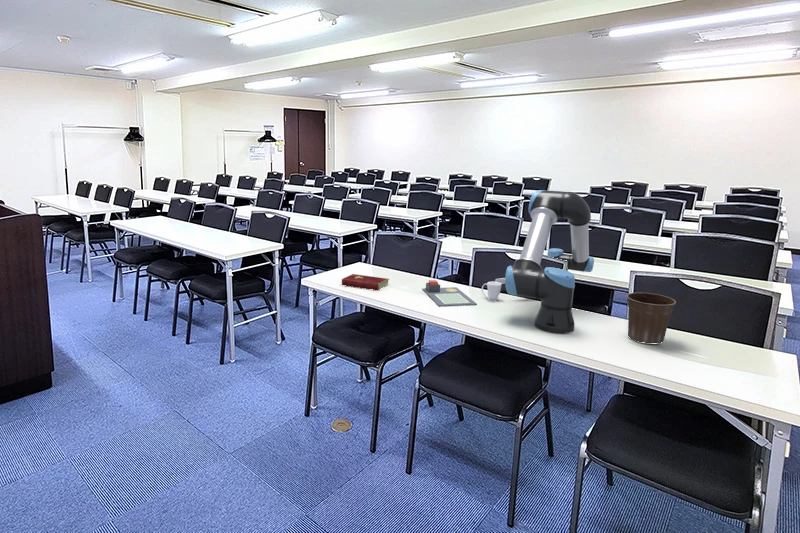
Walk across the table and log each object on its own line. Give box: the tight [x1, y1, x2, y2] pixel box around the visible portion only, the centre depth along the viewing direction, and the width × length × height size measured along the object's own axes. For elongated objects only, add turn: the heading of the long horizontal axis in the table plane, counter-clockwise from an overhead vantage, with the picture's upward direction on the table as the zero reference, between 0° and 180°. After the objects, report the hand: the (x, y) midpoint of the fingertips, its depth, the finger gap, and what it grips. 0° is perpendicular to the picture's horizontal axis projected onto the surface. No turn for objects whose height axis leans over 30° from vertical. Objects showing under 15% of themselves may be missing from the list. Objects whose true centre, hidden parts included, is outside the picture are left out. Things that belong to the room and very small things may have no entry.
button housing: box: [425, 282, 441, 293], centre depth 234 cm, size 6×6×4 cm
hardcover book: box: [341, 273, 390, 291], centre depth 243 cm, size 12×21×4 cm, turn 67°
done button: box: [428, 279, 439, 285], centre depth 234 cm, size 4×4×3 cm
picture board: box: [421, 286, 478, 308], centre depth 227 cm, size 28×18×1 cm, turn 13°
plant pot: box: [626, 292, 677, 344], centre depth 178 cm, size 16×16×16 cm
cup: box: [481, 281, 503, 302], centre depth 225 cm, size 7×10×8 cm
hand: (504, 285), depth 229 cm, fingers open, 13 cm apart
